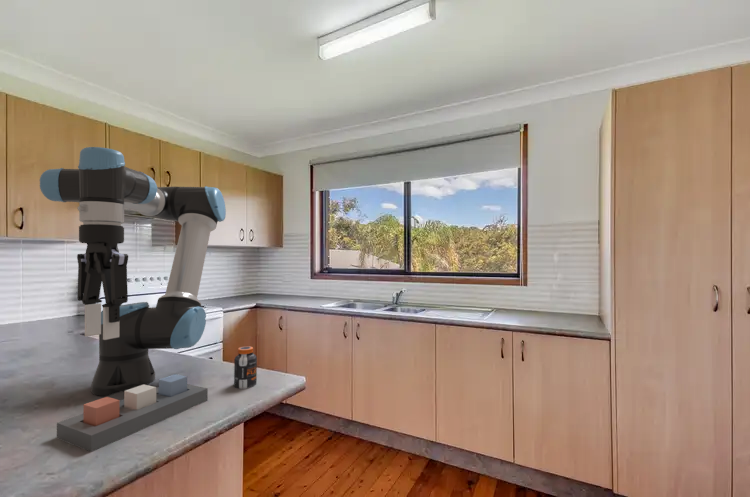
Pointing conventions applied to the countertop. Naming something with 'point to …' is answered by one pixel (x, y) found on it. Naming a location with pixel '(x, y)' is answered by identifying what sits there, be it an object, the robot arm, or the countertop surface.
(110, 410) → the key red
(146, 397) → the key white
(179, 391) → the key blue
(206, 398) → the frame
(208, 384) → the countertop surface
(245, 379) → the pill bottle
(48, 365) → the countertop surface
